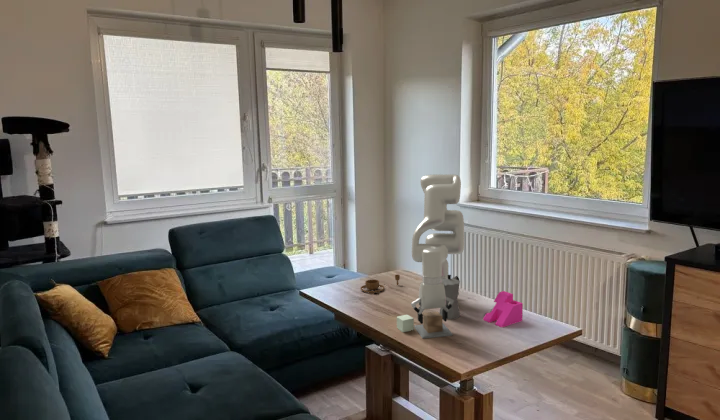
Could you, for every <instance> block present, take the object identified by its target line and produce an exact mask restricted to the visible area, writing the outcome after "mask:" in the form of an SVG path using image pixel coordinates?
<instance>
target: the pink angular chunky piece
mask: <svg viewBox="0 0 720 420" xmlns="http://www.w3.org/2000/svg"><path fill="white" fill-rule="evenodd" d="M493 303H495V305H494V306H493V308H492V309H491V311H490V312H487V313H485V315H484V316H483V318H482V320H483V321H485V322H487V323H492V322H495V326H496V327H500V328H505V327H507V326H511V325H514V324H517V323H521V322H523V313H524V311H523V310H524V309H523V305H524V304H523V302H521V301H518V300H514V293H511V292H508V291H505V290H502V291H499V292H498V294H497V295H496V297H495V298H494V300H493Z"/></svg>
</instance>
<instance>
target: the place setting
mask: <svg viewBox="0 0 720 420" xmlns="http://www.w3.org/2000/svg"><path fill="white" fill-rule="evenodd" d="M394 279H395V281H396V286H397V285H399V281H400V279H401V276H400V274H394ZM379 286H380V287H383V289H382V288H380V287H379ZM363 287H366V288H365V289H367V290H365V289H362V288H363ZM379 288H380V289H379ZM377 289H378V290H377ZM384 289H385V285H383V284H380V280H378V279H368V280H366V281H365V284H364V285H362V286H360V291H361V290H362V291H361V292H363V291H364V292H363V293H365V292H369V293H368V294H374V292H378V293H381V292H380V291H382V292H383V291H384ZM370 290H375V291H370Z"/></svg>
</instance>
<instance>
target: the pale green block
mask: <svg viewBox="0 0 720 420" xmlns="http://www.w3.org/2000/svg"><path fill="white" fill-rule="evenodd" d="M414 319H415V318H414V317H413V316H411V315H409V314H403V315H398V316H396V329H397V328H398V329H397V330H399V331H400V332H401V333H406V332H407V333H408V332H411V330H412V331H414V329H415V328H414V325H415V323H414Z"/></svg>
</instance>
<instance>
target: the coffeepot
mask: <svg viewBox="0 0 720 420" xmlns="http://www.w3.org/2000/svg"><path fill="white" fill-rule="evenodd" d="M447 276H448V279H443V281H442V282H443V284H444V288H445V295H446V296H447V297H449V298H452V299H453V300H454V302H453V304H452V307H451V308H450V309H449V311H448V318H447V320H454V319H458V318H460V316H461V312H460V305H459V301H458V296H459V295H458V291H460V284H461V283H460V282H461V280H460V278H459V276H458V275H456V276H453V277H452V275H451V274H448V275H447ZM448 303H449V301H447V300H446V305H447V304H448ZM442 310H443V308H439V312H438V313H439V314H440V315H441V316H442Z"/></svg>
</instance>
